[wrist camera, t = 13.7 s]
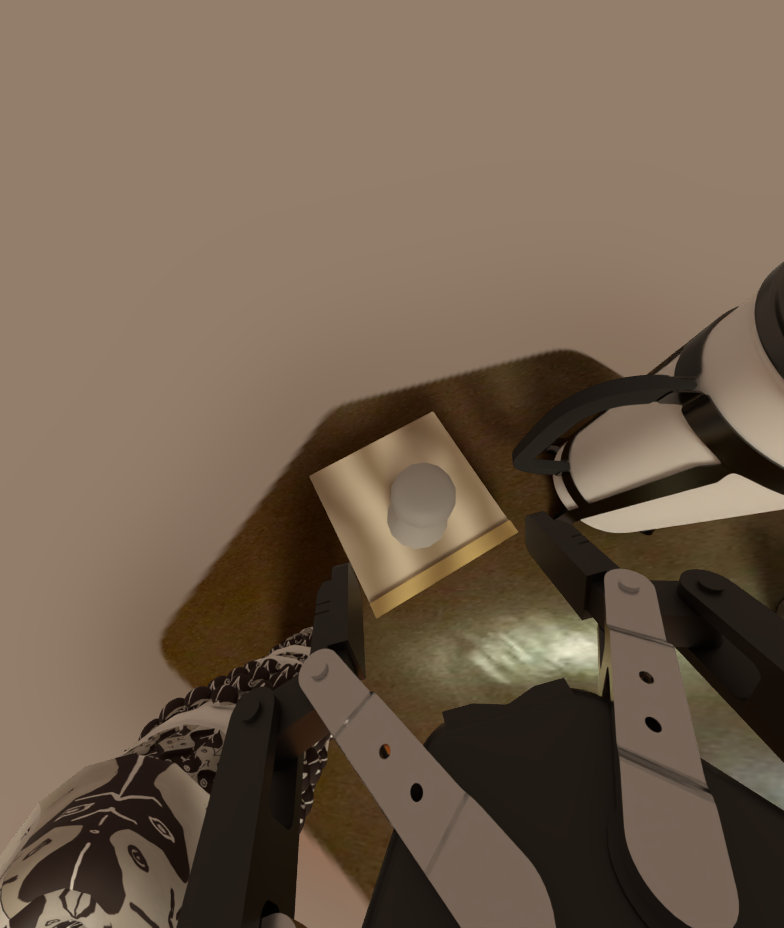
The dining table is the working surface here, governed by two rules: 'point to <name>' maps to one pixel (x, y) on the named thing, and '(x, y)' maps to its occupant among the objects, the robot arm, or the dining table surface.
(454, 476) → the wood block
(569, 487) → the coffee press
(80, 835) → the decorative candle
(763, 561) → the dining table surface
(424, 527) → the salt shaker
